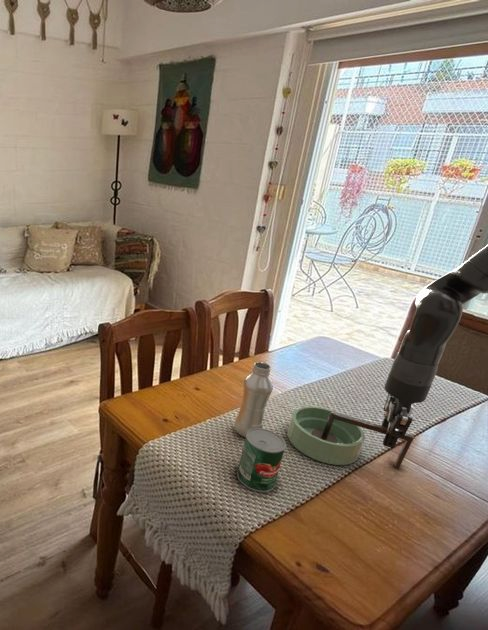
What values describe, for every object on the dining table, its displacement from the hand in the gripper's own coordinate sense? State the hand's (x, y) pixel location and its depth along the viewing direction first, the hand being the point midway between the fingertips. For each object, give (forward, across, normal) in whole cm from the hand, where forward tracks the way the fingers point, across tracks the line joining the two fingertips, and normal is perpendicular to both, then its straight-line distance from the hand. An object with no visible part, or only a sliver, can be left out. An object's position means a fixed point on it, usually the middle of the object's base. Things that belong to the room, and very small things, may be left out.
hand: (386, 438), depth 102 cm
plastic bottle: (+7, -5, +29) cm, 30 cm away
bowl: (+7, 0, +12) cm, 14 cm away
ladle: (+6, 0, +5) cm, 8 cm away
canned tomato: (+7, -21, +25) cm, 33 cm away
